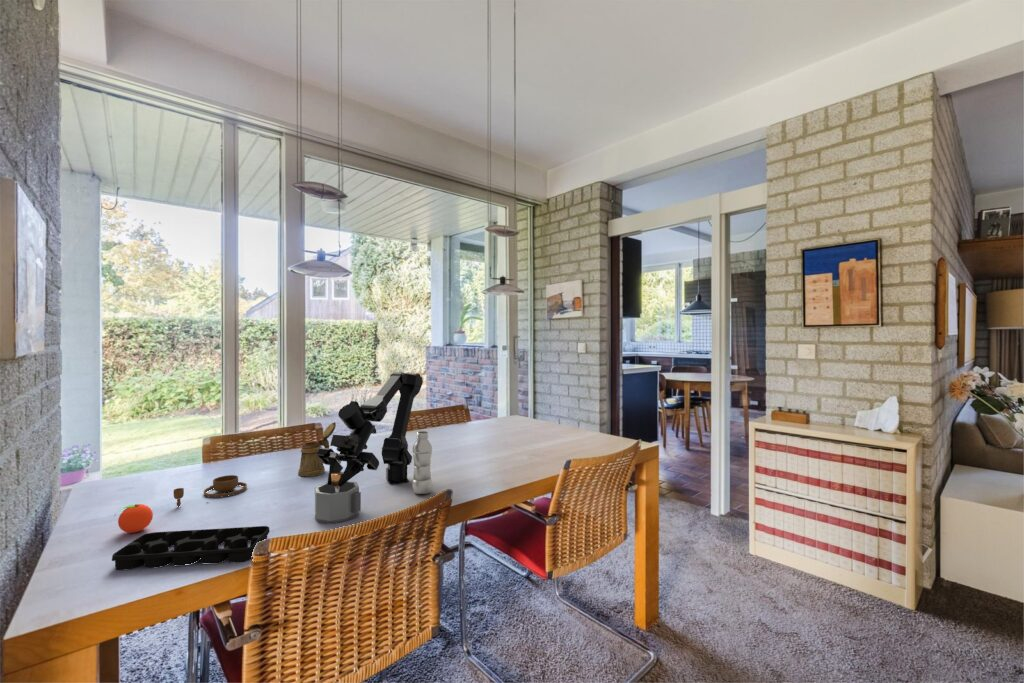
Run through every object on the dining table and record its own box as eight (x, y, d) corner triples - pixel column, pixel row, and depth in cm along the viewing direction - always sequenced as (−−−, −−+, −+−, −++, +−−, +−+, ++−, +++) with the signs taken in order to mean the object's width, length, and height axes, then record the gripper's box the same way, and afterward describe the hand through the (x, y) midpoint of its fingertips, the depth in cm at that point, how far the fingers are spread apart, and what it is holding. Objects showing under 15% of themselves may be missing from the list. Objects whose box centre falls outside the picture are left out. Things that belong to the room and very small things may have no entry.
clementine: (107, 540, 109) (107, 511, 109) (119, 529, 116) (119, 502, 116) (147, 534, 113) (147, 507, 113) (156, 524, 119) (156, 498, 119)
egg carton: (133, 549, 106) (133, 533, 106) (273, 530, 117) (273, 516, 117) (95, 588, 90) (95, 569, 90) (262, 561, 101) (262, 545, 101)
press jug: (333, 505, 133) (333, 478, 133) (370, 510, 130) (370, 483, 130) (305, 520, 122) (305, 491, 122) (344, 526, 119) (345, 497, 118)
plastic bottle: (415, 498, 140) (415, 435, 140) (409, 491, 146) (410, 431, 146) (434, 494, 143) (435, 433, 143) (428, 488, 149) (429, 429, 149)
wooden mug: (340, 470, 167) (340, 423, 167) (302, 478, 158) (303, 428, 158) (331, 465, 174) (331, 420, 174) (294, 472, 164) (294, 424, 164)
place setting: (251, 496, 141) (251, 478, 141) (173, 512, 129) (173, 492, 128) (242, 482, 155) (242, 465, 155) (170, 495, 142) (170, 477, 142)
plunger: (334, 502, 131) (334, 468, 131) (358, 506, 129) (358, 470, 129) (314, 513, 123) (314, 476, 123) (339, 517, 121) (339, 479, 121)
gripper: (320, 421, 132) (291, 467, 122) (373, 425, 127) (348, 474, 117) (337, 441, 140) (312, 486, 130) (388, 446, 135) (366, 494, 124)
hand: (333, 485), depth 125 cm, fingers closed on plunger, 3 cm apart
